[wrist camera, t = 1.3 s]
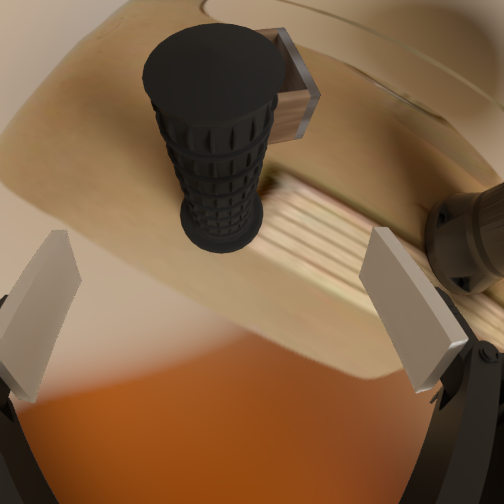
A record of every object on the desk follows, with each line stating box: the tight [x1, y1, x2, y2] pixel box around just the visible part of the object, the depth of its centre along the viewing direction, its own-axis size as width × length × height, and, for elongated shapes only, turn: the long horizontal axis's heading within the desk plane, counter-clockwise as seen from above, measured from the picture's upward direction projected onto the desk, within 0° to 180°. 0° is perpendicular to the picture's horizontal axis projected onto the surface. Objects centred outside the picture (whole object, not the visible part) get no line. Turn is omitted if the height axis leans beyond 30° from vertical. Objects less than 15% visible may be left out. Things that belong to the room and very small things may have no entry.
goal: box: [254, 28, 321, 145], centre depth 36 cm, size 12×9×10 cm
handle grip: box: [142, 23, 285, 254], centre depth 25 cm, size 10×26×10 cm
